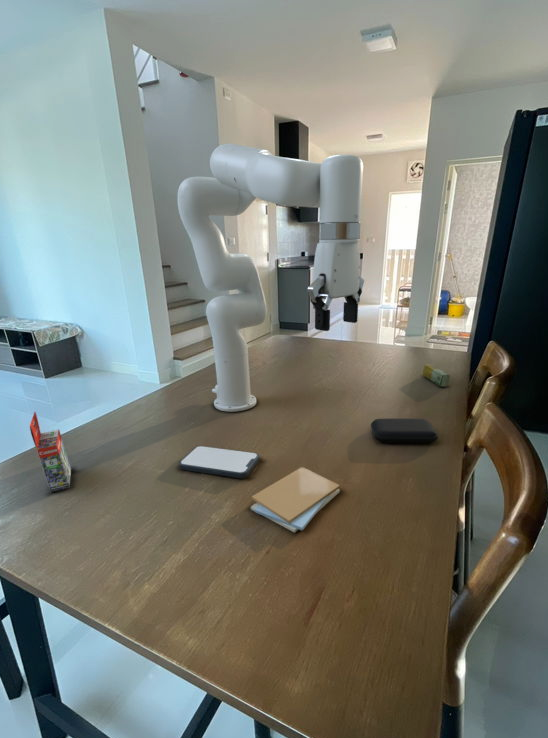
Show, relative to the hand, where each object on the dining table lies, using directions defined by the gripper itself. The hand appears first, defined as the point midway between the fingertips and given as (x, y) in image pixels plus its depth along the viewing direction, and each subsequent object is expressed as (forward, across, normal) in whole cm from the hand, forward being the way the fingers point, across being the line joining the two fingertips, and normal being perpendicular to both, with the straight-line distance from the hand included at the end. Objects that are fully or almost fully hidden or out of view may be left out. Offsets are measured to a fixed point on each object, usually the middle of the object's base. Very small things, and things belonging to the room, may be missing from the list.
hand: (336, 325), depth 78 cm
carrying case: (+28, -16, +10) cm, 34 cm away
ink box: (+29, +47, -35) cm, 65 cm away
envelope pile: (+28, +21, +7) cm, 36 cm away
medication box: (+28, -58, 0) cm, 65 cm away
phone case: (+28, +22, -14) cm, 39 cm away
